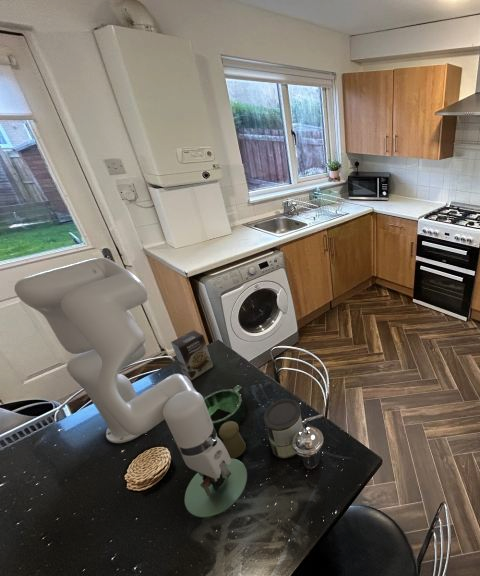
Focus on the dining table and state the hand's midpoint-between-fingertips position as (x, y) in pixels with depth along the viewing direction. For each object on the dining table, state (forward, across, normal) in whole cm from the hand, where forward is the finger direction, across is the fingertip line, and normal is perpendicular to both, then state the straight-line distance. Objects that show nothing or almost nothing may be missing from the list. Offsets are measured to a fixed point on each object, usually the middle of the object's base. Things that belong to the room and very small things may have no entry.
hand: (215, 482), depth 80 cm
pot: (+7, +18, -20) cm, 27 cm away
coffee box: (+7, +44, -35) cm, 56 cm away
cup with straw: (+6, -18, -16) cm, 25 cm away
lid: (+2, 0, 0) cm, 2 cm away
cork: (+7, +6, -12) cm, 15 cm away
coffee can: (+6, -8, -19) cm, 22 cm away
